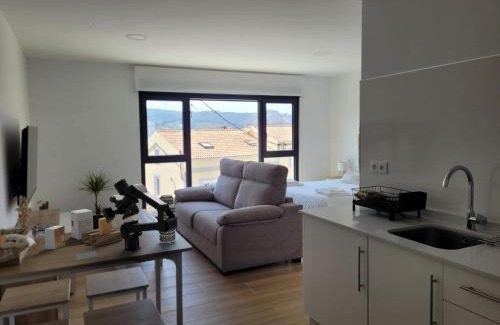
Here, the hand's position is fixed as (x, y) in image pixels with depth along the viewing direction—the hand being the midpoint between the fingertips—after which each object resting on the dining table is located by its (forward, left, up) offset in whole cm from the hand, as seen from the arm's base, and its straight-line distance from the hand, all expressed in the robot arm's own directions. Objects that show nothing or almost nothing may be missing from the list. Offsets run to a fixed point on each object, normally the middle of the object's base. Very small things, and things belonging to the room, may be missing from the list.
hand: (114, 220), depth 195 cm
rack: (+12, -3, -13) cm, 17 cm away
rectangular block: (+8, -2, -12) cm, 15 cm away
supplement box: (+28, -6, -13) cm, 32 cm away
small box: (+26, +14, -13) cm, 33 cm away
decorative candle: (-23, -14, -13) cm, 29 cm away
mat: (0, +20, -13) cm, 24 cm away
